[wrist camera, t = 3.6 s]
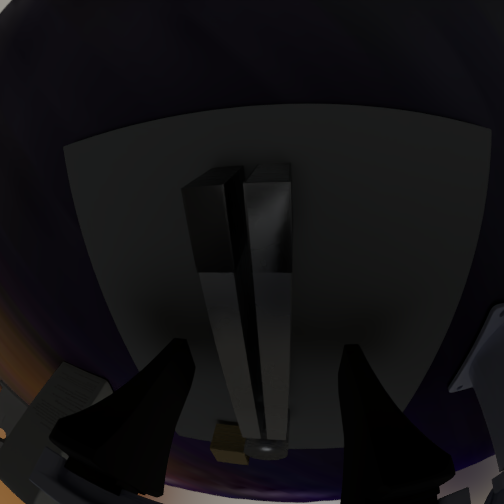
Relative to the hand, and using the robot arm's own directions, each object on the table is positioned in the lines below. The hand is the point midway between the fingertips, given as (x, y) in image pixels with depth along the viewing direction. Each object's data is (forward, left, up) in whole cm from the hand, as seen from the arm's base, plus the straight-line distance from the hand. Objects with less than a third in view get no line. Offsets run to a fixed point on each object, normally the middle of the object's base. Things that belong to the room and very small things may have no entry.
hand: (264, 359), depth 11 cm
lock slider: (+3, +10, -1) cm, 11 cm away
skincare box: (+17, +11, -2) cm, 20 cm away
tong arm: (+1, -1, -1) cm, 2 cm away
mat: (0, +2, -2) cm, 3 cm away
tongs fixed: (0, 0, -1) cm, 1 cm away
